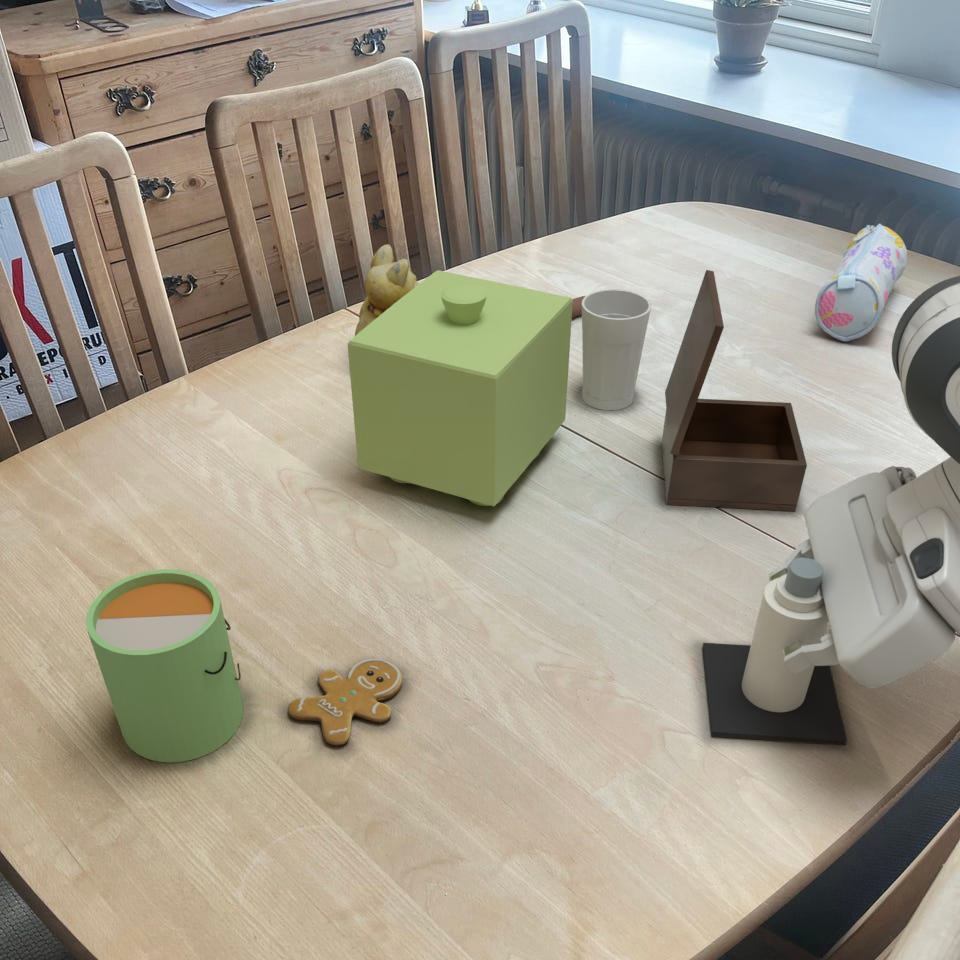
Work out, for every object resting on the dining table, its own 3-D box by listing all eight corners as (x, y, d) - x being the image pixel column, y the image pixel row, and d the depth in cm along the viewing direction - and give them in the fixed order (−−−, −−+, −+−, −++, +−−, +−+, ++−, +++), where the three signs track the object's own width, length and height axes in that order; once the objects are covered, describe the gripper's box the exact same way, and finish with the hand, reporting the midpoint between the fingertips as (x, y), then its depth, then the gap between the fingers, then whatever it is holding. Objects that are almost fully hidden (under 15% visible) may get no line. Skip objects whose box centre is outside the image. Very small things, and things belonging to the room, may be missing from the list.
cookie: (275, 700, 89) (360, 639, 94) (276, 708, 89) (360, 647, 95) (342, 749, 85) (427, 682, 90) (343, 756, 85) (427, 690, 91)
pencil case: (839, 279, 154) (854, 214, 147) (899, 291, 151) (918, 224, 144) (805, 338, 140) (820, 269, 133) (871, 352, 137) (890, 282, 131)
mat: (825, 654, 95) (826, 649, 94) (845, 745, 86) (847, 740, 86) (702, 647, 95) (703, 642, 95) (711, 736, 87) (712, 731, 87)
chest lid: (713, 271, 107) (706, 269, 107) (724, 326, 98) (715, 325, 98) (671, 394, 117) (664, 392, 117) (677, 455, 107) (669, 453, 107)
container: (440, 406, 127) (435, 242, 113) (564, 438, 121) (575, 270, 108) (359, 487, 114) (343, 313, 100) (494, 526, 109) (497, 348, 95)
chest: (780, 447, 120) (791, 402, 116) (795, 511, 111) (807, 465, 107) (661, 441, 121) (667, 396, 117) (666, 504, 112) (673, 458, 108)
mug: (242, 758, 85) (218, 651, 77) (111, 766, 85) (73, 658, 77) (254, 653, 95) (234, 547, 86) (137, 659, 94) (105, 553, 86)
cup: (630, 378, 132) (640, 286, 124) (648, 410, 126) (660, 316, 118) (568, 383, 131) (574, 291, 123) (584, 416, 125) (591, 321, 117)
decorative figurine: (435, 373, 133) (432, 257, 123) (379, 392, 129) (371, 274, 119) (396, 344, 139) (389, 230, 128) (341, 361, 135) (330, 246, 125)
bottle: (800, 670, 92) (836, 548, 83) (809, 714, 88) (847, 591, 79) (738, 666, 93) (767, 544, 83) (744, 710, 89) (775, 587, 79)
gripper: (888, 432, 85) (745, 524, 92) (948, 594, 69) (771, 688, 77) (928, 482, 87) (786, 567, 94) (995, 648, 72) (820, 734, 79)
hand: (780, 623), depth 85 cm, fingers open, 8 cm apart
